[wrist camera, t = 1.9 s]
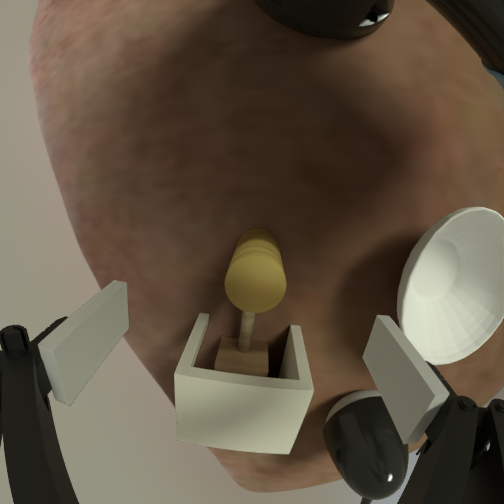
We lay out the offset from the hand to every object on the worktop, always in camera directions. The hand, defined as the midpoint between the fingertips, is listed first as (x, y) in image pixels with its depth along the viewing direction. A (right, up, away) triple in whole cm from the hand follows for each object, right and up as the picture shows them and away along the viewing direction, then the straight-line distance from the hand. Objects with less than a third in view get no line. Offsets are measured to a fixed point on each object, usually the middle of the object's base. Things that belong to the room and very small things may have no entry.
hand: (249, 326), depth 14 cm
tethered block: (0, -2, +15) cm, 15 cm away
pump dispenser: (+14, -17, +19) cm, 29 cm away
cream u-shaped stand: (-1, -8, +17) cm, 18 cm away
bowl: (+21, +2, +14) cm, 25 cm away
